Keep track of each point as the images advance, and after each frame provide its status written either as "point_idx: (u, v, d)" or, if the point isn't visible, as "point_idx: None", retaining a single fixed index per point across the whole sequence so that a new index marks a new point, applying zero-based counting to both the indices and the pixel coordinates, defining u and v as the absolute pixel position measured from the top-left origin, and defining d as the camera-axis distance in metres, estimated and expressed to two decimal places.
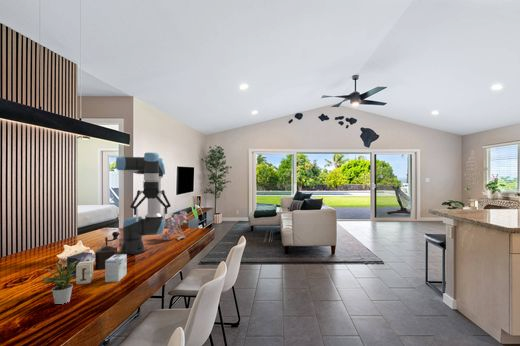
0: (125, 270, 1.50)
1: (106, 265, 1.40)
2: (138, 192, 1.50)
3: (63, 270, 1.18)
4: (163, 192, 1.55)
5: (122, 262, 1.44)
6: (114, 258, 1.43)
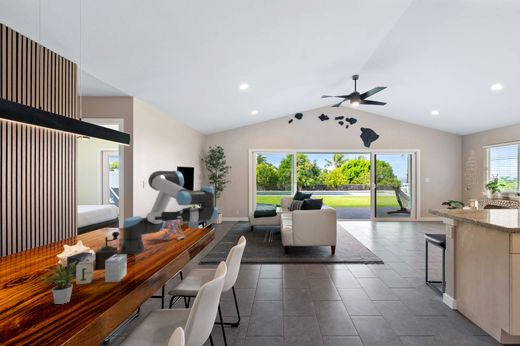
0: (125, 270, 1.50)
1: (106, 265, 1.40)
2: None
3: (63, 270, 1.18)
4: None
5: (122, 262, 1.44)
6: (114, 258, 1.43)
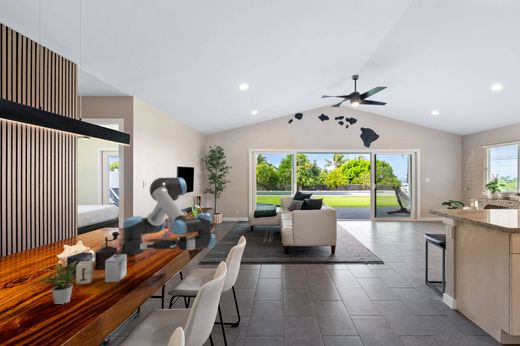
0: (125, 270, 1.50)
1: (106, 265, 1.40)
2: None
3: (63, 270, 1.18)
4: None
5: (122, 262, 1.44)
6: (114, 258, 1.43)
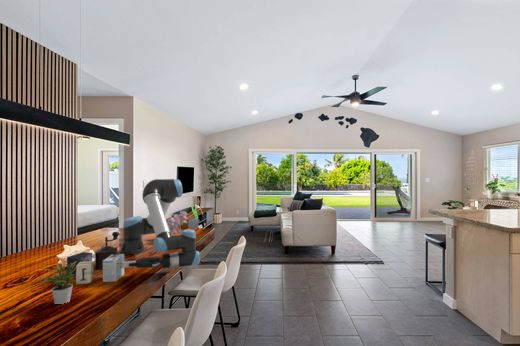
0: (123, 270, 1.50)
1: (104, 265, 1.40)
2: None
3: (63, 270, 1.18)
4: None
5: (119, 262, 1.44)
6: (111, 258, 1.43)
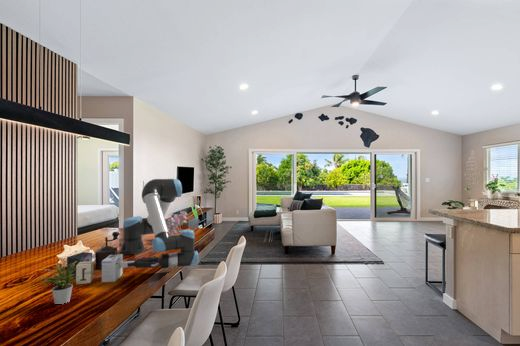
0: (122, 270, 1.50)
1: (102, 265, 1.39)
2: None
3: (63, 270, 1.18)
4: None
5: (118, 262, 1.44)
6: (110, 258, 1.43)
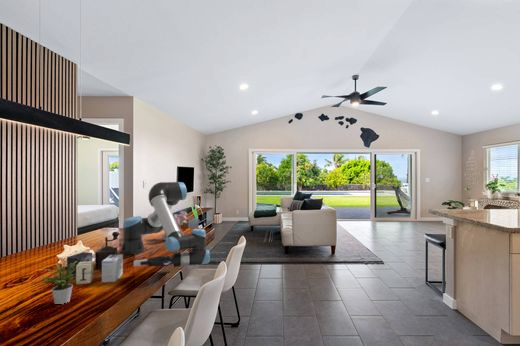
0: (122, 270, 1.50)
1: (103, 265, 1.39)
2: None
3: (63, 270, 1.18)
4: None
5: (118, 262, 1.44)
6: (111, 258, 1.43)
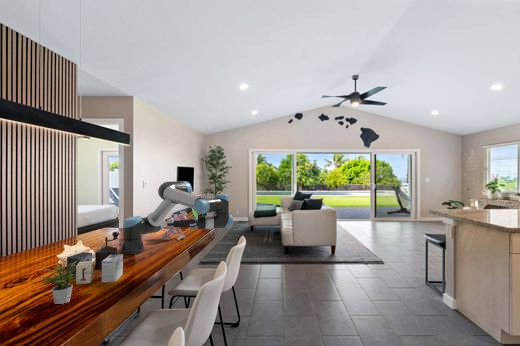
0: (122, 270, 1.50)
1: (103, 265, 1.39)
2: None
3: (63, 270, 1.18)
4: None
5: (118, 262, 1.44)
6: (111, 258, 1.43)
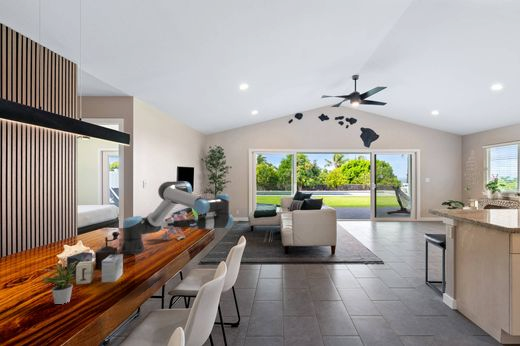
0: (122, 270, 1.50)
1: (103, 265, 1.39)
2: None
3: (63, 270, 1.18)
4: None
5: (118, 262, 1.44)
6: (111, 258, 1.43)
